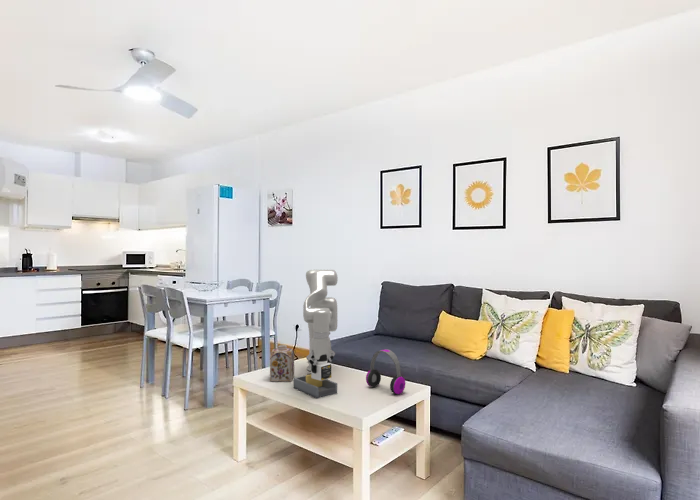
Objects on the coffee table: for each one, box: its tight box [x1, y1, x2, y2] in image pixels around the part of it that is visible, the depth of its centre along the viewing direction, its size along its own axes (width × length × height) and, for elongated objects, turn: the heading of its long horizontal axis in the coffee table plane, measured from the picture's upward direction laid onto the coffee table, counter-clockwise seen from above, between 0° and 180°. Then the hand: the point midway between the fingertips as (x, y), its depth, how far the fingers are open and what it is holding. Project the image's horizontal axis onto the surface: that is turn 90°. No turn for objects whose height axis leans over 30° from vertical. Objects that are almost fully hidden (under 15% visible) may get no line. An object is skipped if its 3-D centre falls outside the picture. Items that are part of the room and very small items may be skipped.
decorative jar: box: [269, 344, 295, 383], centre depth 234 cm, size 12×12×18 cm
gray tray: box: [292, 375, 338, 399], centre depth 213 cm, size 21×12×5 cm, turn 39°
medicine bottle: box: [310, 354, 332, 381], centre depth 209 cm, size 7×7×12 cm
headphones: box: [365, 348, 407, 395], centre depth 214 cm, size 21×9×20 cm, turn 45°
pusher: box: [305, 372, 322, 387], centre depth 215 cm, size 5×9×7 cm, turn 129°
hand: (321, 371), depth 209 cm, fingers closed on medicine bottle, 7 cm apart
